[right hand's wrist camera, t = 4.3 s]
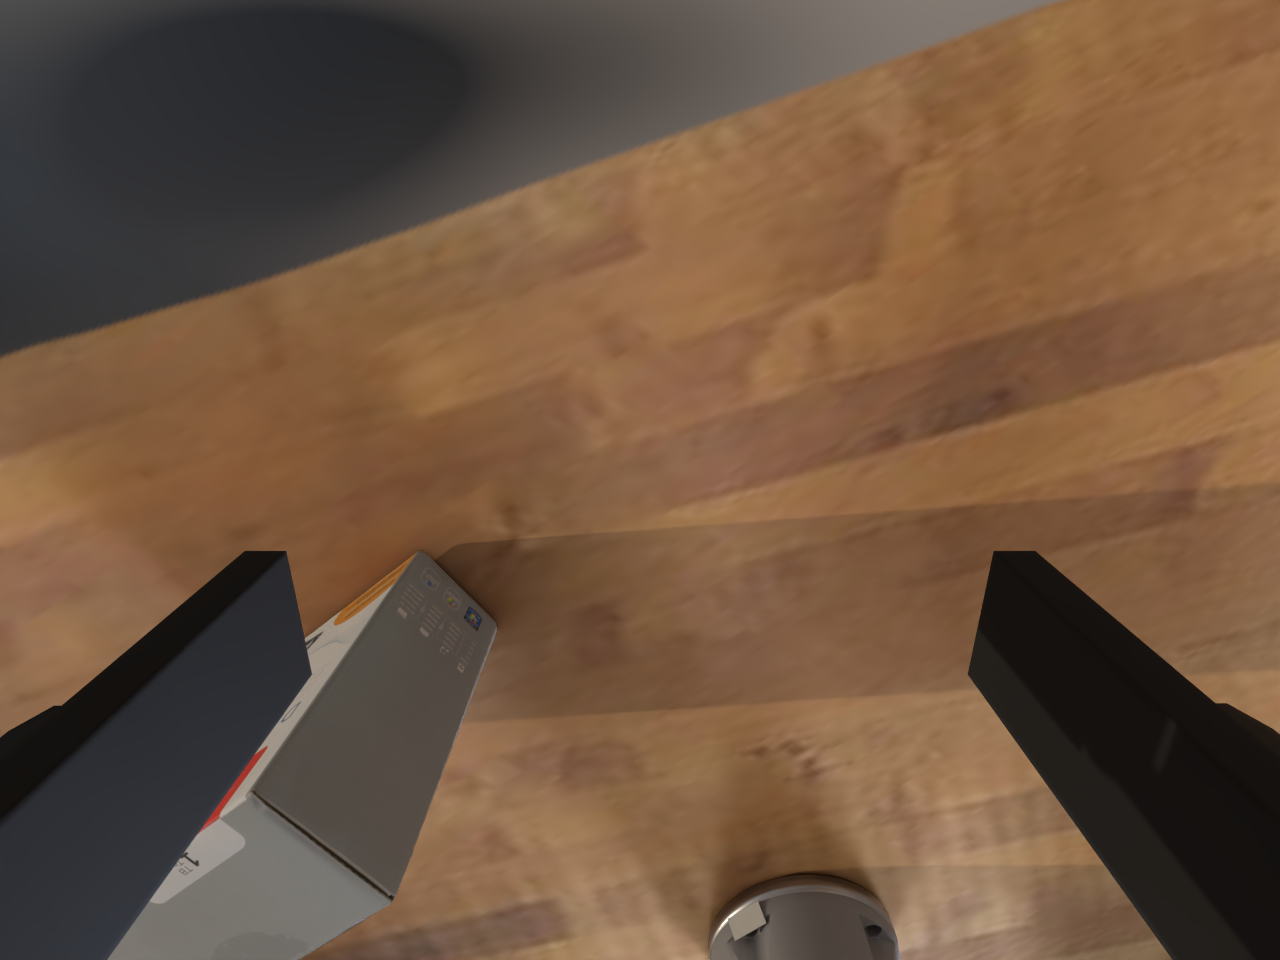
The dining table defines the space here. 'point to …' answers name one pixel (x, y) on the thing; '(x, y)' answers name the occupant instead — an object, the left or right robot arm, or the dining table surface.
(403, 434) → the dining table surface
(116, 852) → the right robot arm
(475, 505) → the dining table surface
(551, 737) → the dining table surface
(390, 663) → the hard drive box
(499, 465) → the dining table surface
